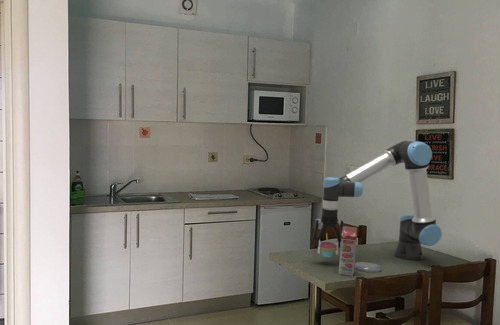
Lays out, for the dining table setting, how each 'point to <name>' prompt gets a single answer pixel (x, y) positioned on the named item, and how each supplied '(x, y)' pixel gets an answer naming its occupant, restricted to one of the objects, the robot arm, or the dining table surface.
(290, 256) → the dining table surface
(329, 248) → the cupcake
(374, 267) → the plate
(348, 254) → the juice carton
